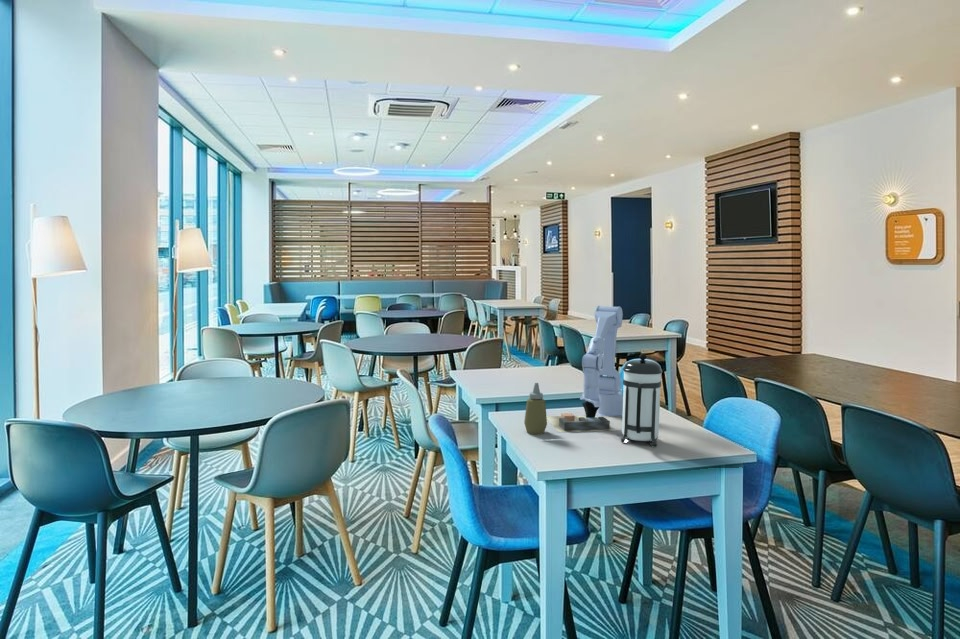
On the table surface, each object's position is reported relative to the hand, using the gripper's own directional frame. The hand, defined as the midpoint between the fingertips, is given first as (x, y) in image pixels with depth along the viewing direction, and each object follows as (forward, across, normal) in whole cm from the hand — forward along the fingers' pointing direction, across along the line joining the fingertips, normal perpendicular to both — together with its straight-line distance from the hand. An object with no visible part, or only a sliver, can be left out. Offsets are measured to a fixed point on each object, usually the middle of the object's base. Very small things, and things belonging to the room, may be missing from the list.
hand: (590, 421), depth 210 cm
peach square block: (+1, -4, -8) cm, 9 cm away
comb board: (+2, -2, -4) cm, 5 cm away
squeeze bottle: (+2, +8, -23) cm, 24 cm away
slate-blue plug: (+1, +3, 0) cm, 3 cm away
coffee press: (+2, +22, +10) cm, 24 cm away
